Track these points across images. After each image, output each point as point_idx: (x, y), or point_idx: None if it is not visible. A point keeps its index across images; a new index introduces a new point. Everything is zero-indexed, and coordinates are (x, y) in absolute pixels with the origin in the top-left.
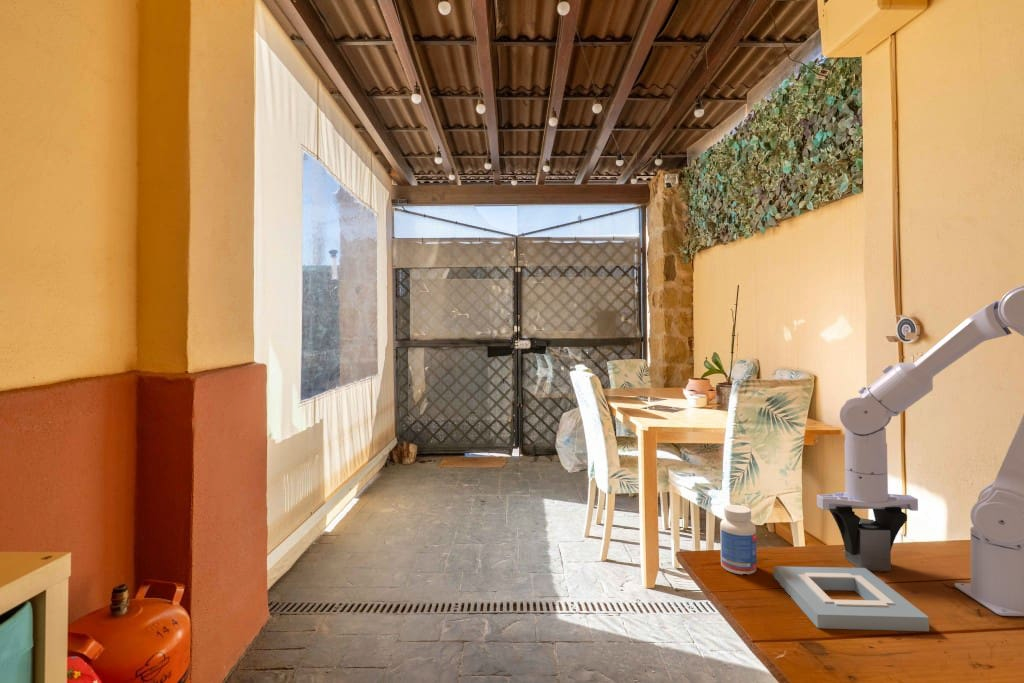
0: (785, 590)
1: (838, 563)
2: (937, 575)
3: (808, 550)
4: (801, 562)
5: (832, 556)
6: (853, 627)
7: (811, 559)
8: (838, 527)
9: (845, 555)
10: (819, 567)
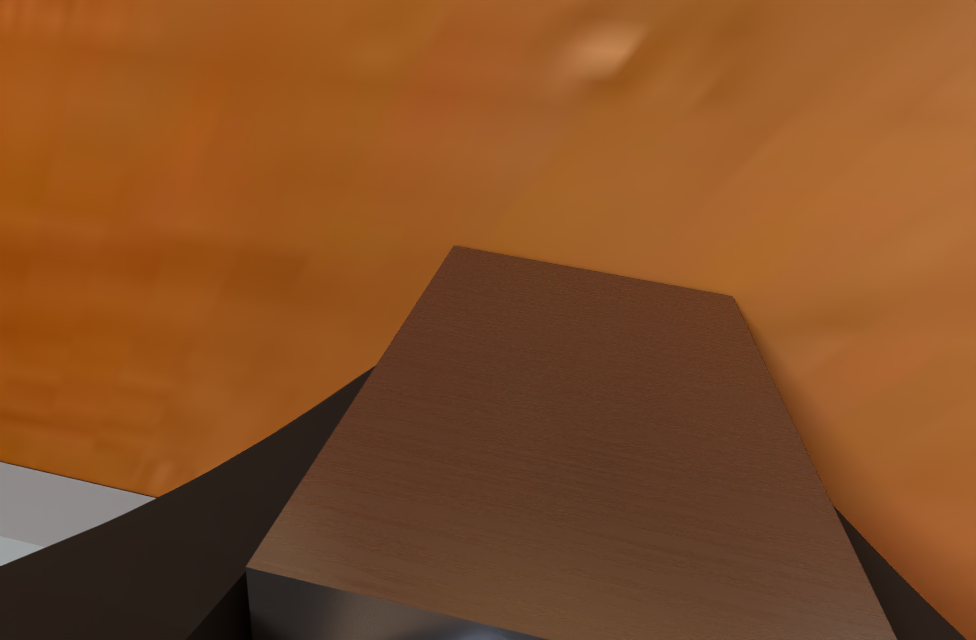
0: None
1: (331, 327)
2: (959, 614)
3: (176, 12)
4: (44, 264)
5: (355, 192)
6: None
7: (139, 224)
8: (172, 494)
9: (448, 260)
10: (35, 551)
